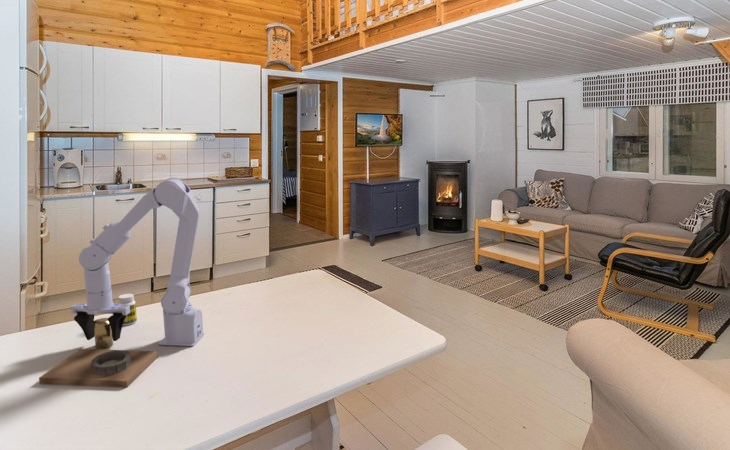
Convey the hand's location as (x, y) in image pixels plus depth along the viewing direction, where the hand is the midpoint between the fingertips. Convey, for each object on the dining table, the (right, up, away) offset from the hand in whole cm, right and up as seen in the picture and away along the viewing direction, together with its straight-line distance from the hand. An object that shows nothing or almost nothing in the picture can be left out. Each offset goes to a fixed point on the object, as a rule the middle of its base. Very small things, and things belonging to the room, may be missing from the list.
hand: (103, 338), depth 118 cm
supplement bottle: (-2, +1, +15) cm, 15 cm away
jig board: (+7, -4, -12) cm, 14 cm away
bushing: (0, -2, 0) cm, 2 cm away
